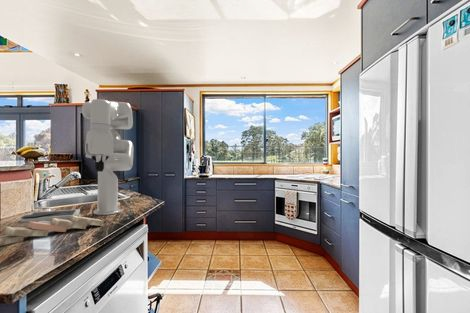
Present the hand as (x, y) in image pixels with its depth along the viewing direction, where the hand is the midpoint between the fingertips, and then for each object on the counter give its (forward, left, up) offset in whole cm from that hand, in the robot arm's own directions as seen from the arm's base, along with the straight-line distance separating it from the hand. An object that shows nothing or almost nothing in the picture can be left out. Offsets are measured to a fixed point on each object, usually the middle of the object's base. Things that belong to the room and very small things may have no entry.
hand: (99, 171), depth 106 cm
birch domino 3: (+4, -4, -22) cm, 23 cm away
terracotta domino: (+9, -8, -22) cm, 25 cm away
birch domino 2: (+14, -12, -22) cm, 29 cm away
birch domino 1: (+20, -16, -22) cm, 34 cm away
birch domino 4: (-1, +1, -22) cm, 22 cm away
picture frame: (-14, -31, -24) cm, 41 cm away
